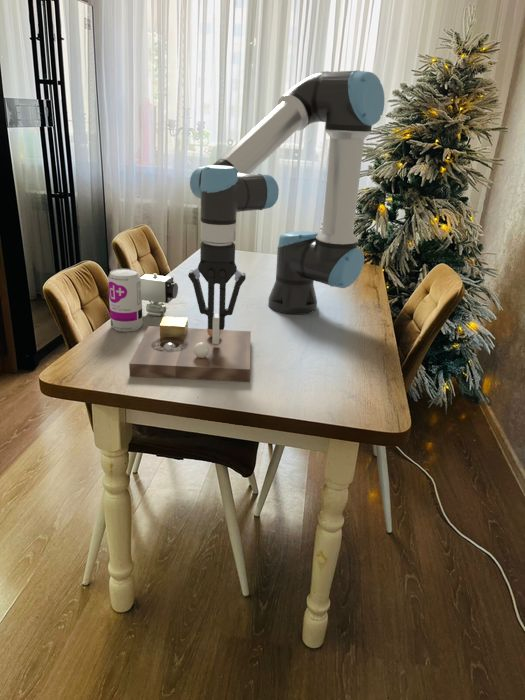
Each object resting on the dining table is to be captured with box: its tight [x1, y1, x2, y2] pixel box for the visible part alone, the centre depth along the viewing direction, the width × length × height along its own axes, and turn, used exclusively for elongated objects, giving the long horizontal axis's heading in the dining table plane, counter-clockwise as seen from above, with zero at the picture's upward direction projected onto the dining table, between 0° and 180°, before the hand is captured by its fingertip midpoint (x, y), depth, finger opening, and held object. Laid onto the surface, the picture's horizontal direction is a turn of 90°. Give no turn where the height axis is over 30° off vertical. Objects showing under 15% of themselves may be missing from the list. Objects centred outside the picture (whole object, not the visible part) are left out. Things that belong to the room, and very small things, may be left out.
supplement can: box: [107, 268, 144, 333], centre depth 132 cm, size 8×8×15 cm
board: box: [128, 325, 252, 383], centre depth 120 cm, size 26×22×3 cm
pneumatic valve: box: [140, 273, 179, 318], centre depth 143 cm, size 6×12×12 cm, turn 78°
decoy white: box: [194, 342, 209, 358], centre depth 113 cm, size 4×4×4 cm
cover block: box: [159, 316, 189, 338], centre depth 125 cm, size 6×6×3 cm
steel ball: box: [163, 342, 177, 349], centre depth 120 cm, size 4×4×4 cm
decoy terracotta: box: [206, 327, 221, 337], centre depth 124 cm, size 4×4×4 cm
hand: (215, 341), depth 119 cm, fingers closed
